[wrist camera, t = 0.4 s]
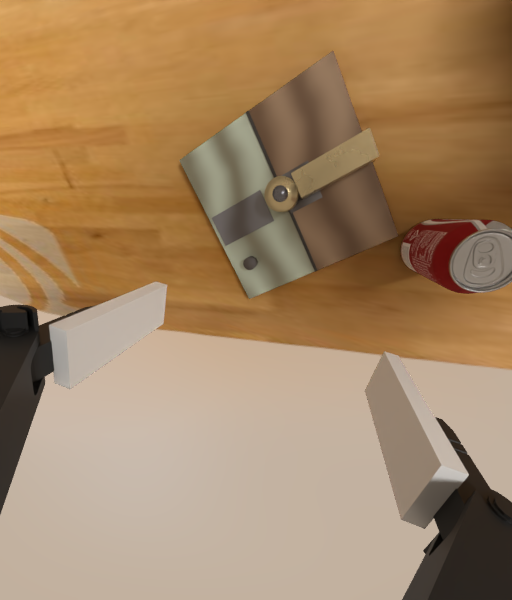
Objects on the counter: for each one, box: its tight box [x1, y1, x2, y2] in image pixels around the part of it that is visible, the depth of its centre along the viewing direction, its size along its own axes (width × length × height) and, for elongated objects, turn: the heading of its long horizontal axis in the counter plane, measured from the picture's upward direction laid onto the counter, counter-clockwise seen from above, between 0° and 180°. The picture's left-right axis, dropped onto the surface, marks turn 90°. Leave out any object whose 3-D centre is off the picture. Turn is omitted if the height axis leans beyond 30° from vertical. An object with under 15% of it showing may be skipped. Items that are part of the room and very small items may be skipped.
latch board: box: [179, 51, 398, 299], centre depth 33 cm, size 22×22×3 cm
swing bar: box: [264, 128, 379, 212], centre depth 29 cm, size 13×4×4 cm, turn 117°
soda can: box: [401, 219, 512, 294], centre depth 26 cm, size 7×7×12 cm
